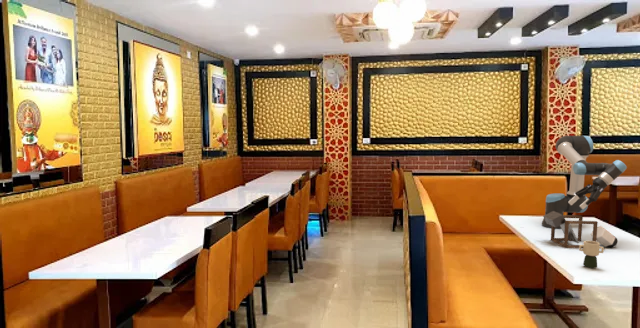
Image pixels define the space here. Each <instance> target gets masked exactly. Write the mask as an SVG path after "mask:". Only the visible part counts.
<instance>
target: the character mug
mask: <svg viewBox="0 0 640 328" xmlns="http://www.w3.org/2000/svg"><path fill="white" fill-rule="evenodd" d="M600 244H601V243H599V242H598V241H596V242H595V241H592V240H584V241H583V244H578V245H579V248H578V251H580V252H583V254H584V255H585V256H584V259H583V263H582V265H583V266H584V267H587V268H589V269H590V268H591V269H596V268H598V259H597V258H598V256H599V255H600V254H604V251H605V246H600ZM581 247H583V248H581ZM600 249H601V250H600Z"/></svg>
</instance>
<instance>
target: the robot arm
mask: <svg viewBox="0 0 640 328" xmlns="http://www.w3.org/2000/svg"><path fill="white" fill-rule="evenodd" d="M555 149H556V151H557V153H558V154H560V155H562V156H563V157H564V158H565V159H566V160H567V161H568V162H569V163H570V164H571V166H570V179H569V190H568V191H567V192H566V194H565V193H559V192H558V193H549V194H547V195H546V197H545V209H544V211H545V213H544V215H546V214H548V213H550V212H552V211H555V212H557V213H560V214H562V215H565V214H564V213H576V214H578V213H581V214H582V213H584V212H586V211H587V210H588V208H589V207H588V206H589V205H590V204H591V203H593V202H597V200H598V199H599V197H600V196H601V195H602V193H603V192H604V190H605V189H606V188H608V186H609V185H611V184H612V183H613V182H614V181H615V180H616V179H618V177H620V176H621V175H622V174H623V173H624V172H625V171H626V170H627V168H628V167H627V165H626V164H625V162H623V161H621V160H619V159H616V160H615V161H612V163H607V162H588V161H587V158H589V156H590V154H591V153H592V152H593V151H594V142H593V139H592V138H591V137H590V136H588V135H564V136H563V135H562V136H561V137H560V138H558V139H557V140H556V142H555ZM585 176H597V177H596V178H594V179H593V180H592V184H587V185H586V186H585ZM587 194H590V196H589V197H587V196H586V195H587ZM541 226H542V227H545V228H548V229H551V227H552V226H551V225H549V224H547V223H546V221H545V219H544V218H543V219H542V221H541ZM557 229H560V230H562V229H561V227H560V226H558V227H555V230H557Z"/></svg>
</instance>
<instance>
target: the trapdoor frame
mask: <svg viewBox="0 0 640 328" xmlns="http://www.w3.org/2000/svg"><path fill="white" fill-rule="evenodd" d="M563 216H564V218H565V219H578V220H566V221H565V231H564V233H563V237H555V235H556V233H555V232H556V229H555V227H554V226H552V227H551V228H550V229H551V230H550V231H551V233H550V241H551V242H554V243H555V244H557V245H559V246H560V247H562V248H564V249H579V245H580V244H568V242H573V241H572V240H570V239H568V229H569V224H570V225H571V224H572V225H577V227H578V229H577V237H576V238H577V240H578V242H582V234H583V225H593V226H592V231H593V237H592V238H591V239H592V240H591V241H595V242H597V240H596V239H597V227H598V223H599V222H598V221H597V220H584V218H583V217H584V216H583V215H574V214H573V215H571V214H566V215H565V214H563ZM581 249H583V247H581Z"/></svg>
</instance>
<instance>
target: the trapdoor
mask: <svg viewBox="0 0 640 328" xmlns="http://www.w3.org/2000/svg"><path fill="white" fill-rule="evenodd" d="M563 215H564V214H563ZM563 215H562V214H560V213H557V212H555V211H552V212H550V213H548V214H546V215H545V214H544V215H543V216H542V217H543V219H545V221H546V223H547V224H549V225H551V226H554V227H558V226H560V227H561V229H560V230H561V231H562V233H563V234H564V231H565V221H567V220H566V218H564V216H563ZM577 238H578V237H577V236H576V233H575V232H574V230H573V227H572V225H571V224H569V229H568V239H570V240H572V241H571V242H574V243H577V244H579V242H580V241H578V240H577Z"/></svg>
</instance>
